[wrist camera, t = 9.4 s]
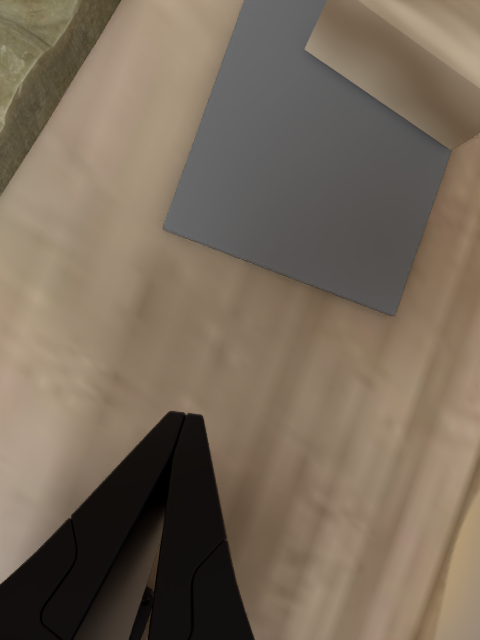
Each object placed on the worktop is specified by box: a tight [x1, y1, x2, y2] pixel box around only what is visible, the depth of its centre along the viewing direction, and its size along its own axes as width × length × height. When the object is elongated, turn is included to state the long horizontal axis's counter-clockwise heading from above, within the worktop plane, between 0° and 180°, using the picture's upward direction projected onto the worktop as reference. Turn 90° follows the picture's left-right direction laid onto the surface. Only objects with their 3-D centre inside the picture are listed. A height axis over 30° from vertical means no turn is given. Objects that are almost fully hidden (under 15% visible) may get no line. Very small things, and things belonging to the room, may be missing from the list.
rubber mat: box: [163, 0, 452, 316], centre depth 23 cm, size 22×14×1 cm, turn 160°
